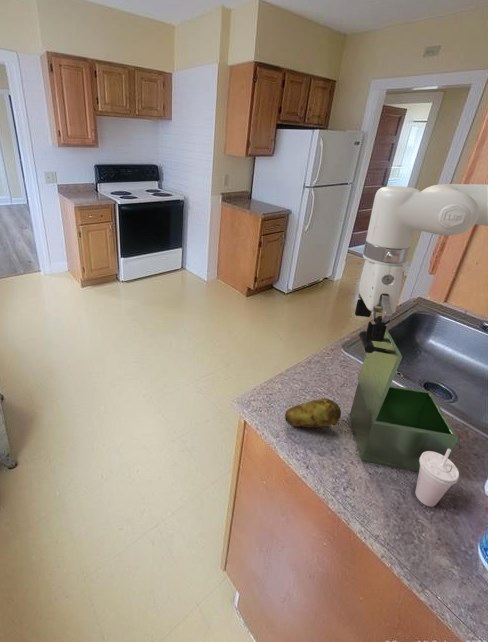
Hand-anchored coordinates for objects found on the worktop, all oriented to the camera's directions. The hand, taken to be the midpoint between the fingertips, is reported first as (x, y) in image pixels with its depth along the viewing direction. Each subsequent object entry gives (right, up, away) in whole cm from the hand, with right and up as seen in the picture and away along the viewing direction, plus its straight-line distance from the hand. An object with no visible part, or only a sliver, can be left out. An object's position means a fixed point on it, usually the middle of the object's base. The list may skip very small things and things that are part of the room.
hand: (367, 327), depth 69 cm
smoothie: (+11, -35, -2) cm, 37 cm away
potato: (-8, -28, +14) cm, 32 cm away
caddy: (+11, -30, +10) cm, 34 cm away
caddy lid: (+4, -10, +3) cm, 11 cm away
